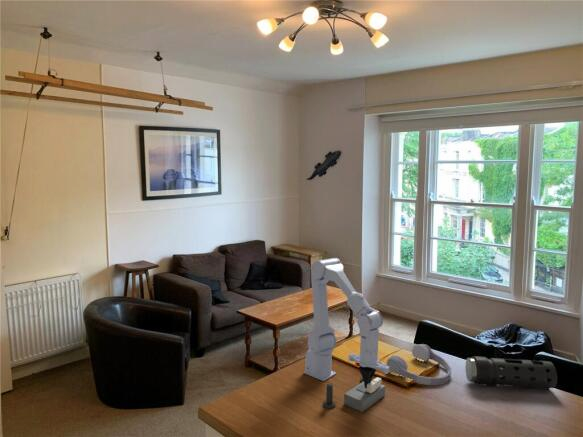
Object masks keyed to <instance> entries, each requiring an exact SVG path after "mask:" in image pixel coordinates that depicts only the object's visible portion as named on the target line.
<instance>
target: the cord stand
mask: <svg viewBox="0 0 583 437" xmlns="http://www.w3.org/2000/svg"><path fill="white" fill-rule="evenodd" d="M333 391H334V385H333V383H327V384H326V395H325V396H326V399H325V400H324V401H322V406H323V408H325V409H326V410H327V409H328V410H329V409H330V410H331V409H334V408H336V402H335V401H334V400H333V399H334V398H333V396H334V394H333V393H334V392H333Z"/></svg>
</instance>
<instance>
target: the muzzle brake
mask: <svg viewBox="0 0 583 437" xmlns="http://www.w3.org/2000/svg"><path fill="white" fill-rule="evenodd" d="M546 370H547V371H546ZM465 375H466V380H467V381H468V382H469V383H473V384H474V385H481V386H482V385H483V386H485V387H494V388H496V387H497V386H509V387H511V386H512V387H513V388H521V389H533V390H546V391H547V390H548V391H549V390H550V389H554V388H555V387H557V383H558V374H557V370H556V367H555V365H554V363H553V362H552V361H549V360H548V361H547V360H533V359H532V360H530V359H529V360H528V359H516V358H514V359H513V358H501V357H500V358H498V357H495V358H494V357H490V358H487V357H486V356H478V355H477V356H476V355H475V356H472V357H467V358H466V359H465Z"/></svg>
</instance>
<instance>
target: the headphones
mask: <svg viewBox="0 0 583 437" xmlns="http://www.w3.org/2000/svg"><path fill="white" fill-rule="evenodd" d="M411 353H412V356H414V357H416V358H419V359H422V360H424V361H426V362H428V361H430V360H432V361H434V362H436V363H437V362H438V363H437V364H439V365H440V366H442V367H443V369H445V370H446V372H447V373H446V374H445V375H442V376H439V377H429V376H422V375H418V374H415V373H413V372H410V371H408V364H407V362H406V360H405V359H404V358H403V357H401V356H399V355H396V354H395V355H394V354H393V355H391V356H390V357H389V358H388V359H387V362H386V364H385V365H387V366H389V367H390V370H389V371H391V372H394V373H397V374H399V375H402V376H404V377H407V378H410V379H413V380H414V381H413V382H414V383H416V384H421V385H425V386H441V385H444V384H446V383H447V382H449V381H450V380H451V375H452V367H451V365H450V364H449V362H448V361H447V360H445V358H443V357H442V356H440V355H439V354H437V353H435V352H434V351H432V349H431V347H430V346H429V345H427V344H424V343H422V344H421V343H420V344H415V345H414V346H413V347H412V350H411ZM414 357H413V358H414ZM429 359H430V360H429ZM427 360H428V361H427ZM402 376H401V377H402ZM404 377H403V378H404Z"/></svg>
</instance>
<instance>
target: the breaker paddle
mask: <svg viewBox="0 0 583 437" xmlns="http://www.w3.org/2000/svg"><path fill="white" fill-rule="evenodd" d="M375 390H376V382H373V380H372V381H371V382H370V383H368V384H367V392H369V393H372V392H374V391H375Z"/></svg>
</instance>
